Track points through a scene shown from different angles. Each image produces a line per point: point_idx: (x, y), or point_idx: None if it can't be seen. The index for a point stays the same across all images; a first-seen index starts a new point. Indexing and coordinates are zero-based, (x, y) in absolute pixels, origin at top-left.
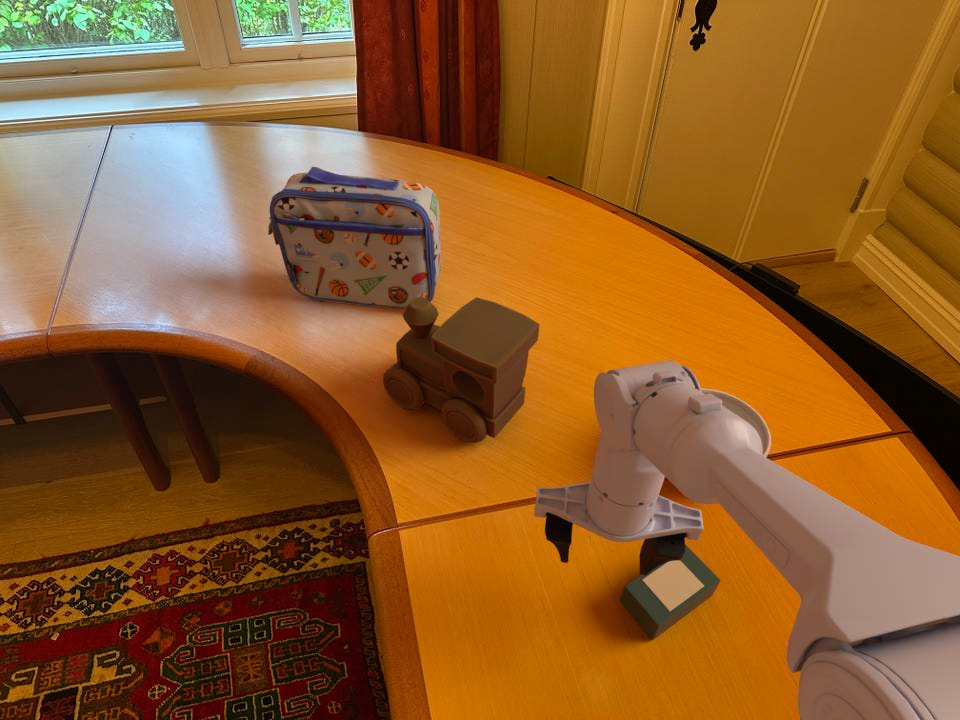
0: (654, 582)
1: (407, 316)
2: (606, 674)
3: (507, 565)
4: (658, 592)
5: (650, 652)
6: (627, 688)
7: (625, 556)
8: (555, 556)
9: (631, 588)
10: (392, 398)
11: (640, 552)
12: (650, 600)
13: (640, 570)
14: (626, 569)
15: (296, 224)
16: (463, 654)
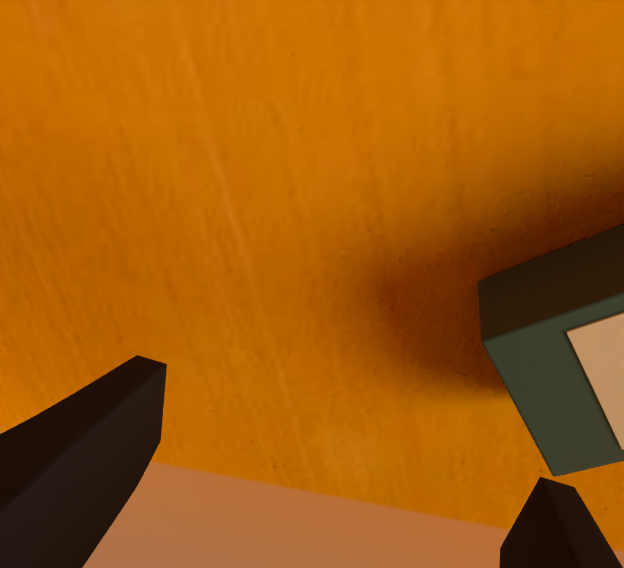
0: (616, 349)
1: None
2: (378, 442)
3: (107, 113)
4: (612, 386)
5: (520, 420)
6: (423, 476)
7: (571, 107)
8: (277, 88)
9: (505, 353)
10: None
11: (544, 505)
12: (564, 402)
13: (505, 557)
14: (551, 165)
15: None
16: (33, 347)
